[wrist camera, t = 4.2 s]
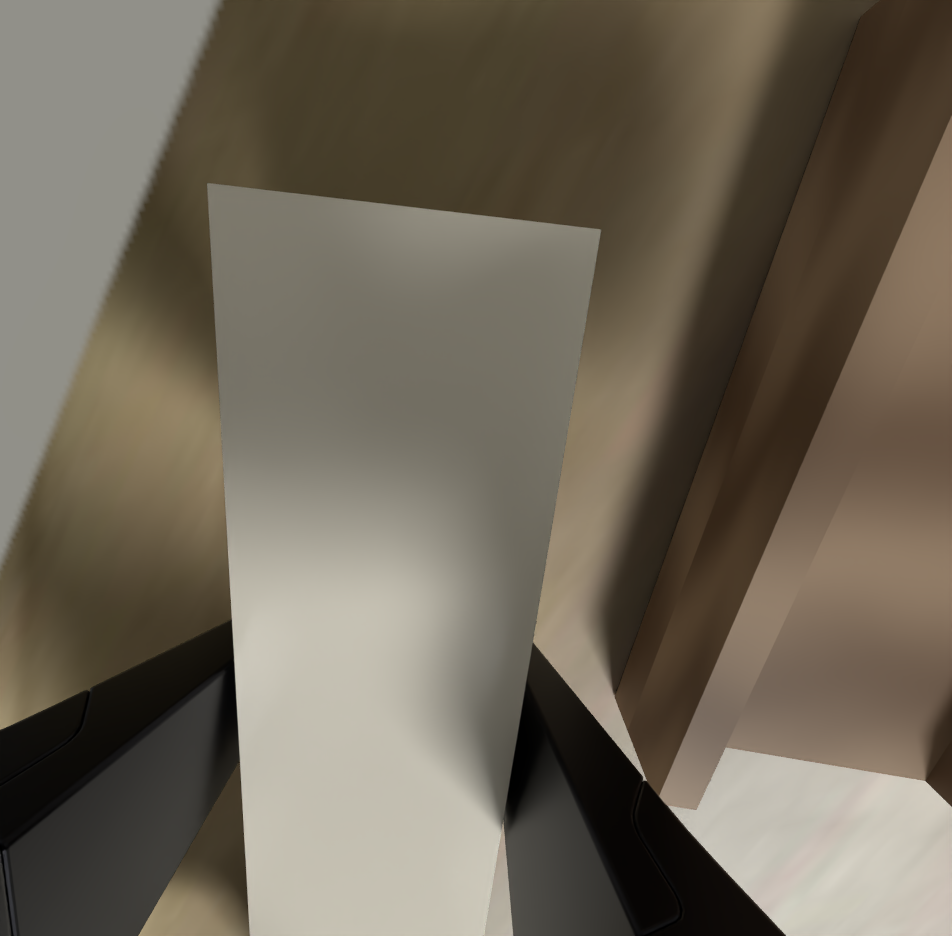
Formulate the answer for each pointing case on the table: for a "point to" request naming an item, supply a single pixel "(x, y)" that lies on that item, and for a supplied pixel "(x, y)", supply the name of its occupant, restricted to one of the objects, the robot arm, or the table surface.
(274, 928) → the clay strip
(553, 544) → the table surface
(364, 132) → the table surface
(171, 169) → the table surface
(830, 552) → the drying rack
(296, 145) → the table surface
